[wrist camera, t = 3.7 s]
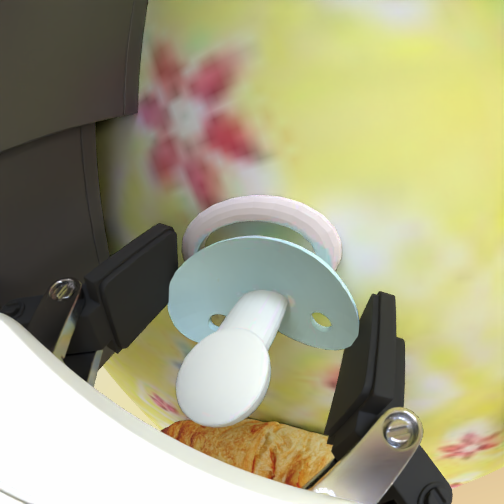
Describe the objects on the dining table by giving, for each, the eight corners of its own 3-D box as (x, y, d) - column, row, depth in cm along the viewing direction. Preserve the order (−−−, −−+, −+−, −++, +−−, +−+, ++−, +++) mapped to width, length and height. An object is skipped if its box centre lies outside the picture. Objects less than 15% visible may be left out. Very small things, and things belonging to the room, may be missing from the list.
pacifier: (167, 211, 12) (215, 323, 14) (49, 288, 7) (142, 420, 9) (343, 171, 8) (367, 321, 10) (298, 277, 3) (340, 469, 5)
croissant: (404, 390, 16) (401, 461, 9) (394, 481, 16) (379, 548, 8) (176, 382, 26) (115, 411, 19) (197, 456, 25) (149, 491, 18)
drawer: (149, 366, 18) (78, 457, 11) (50, 300, 21) (-12, 357, 14) (115, 50, 8) (-111, 103, 1) (7, 88, 11) (-96, 130, 4)
